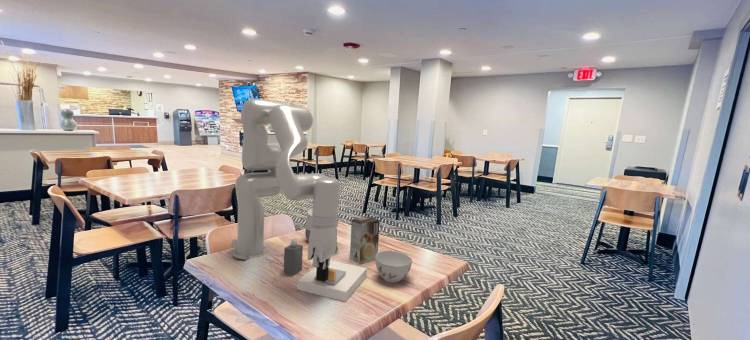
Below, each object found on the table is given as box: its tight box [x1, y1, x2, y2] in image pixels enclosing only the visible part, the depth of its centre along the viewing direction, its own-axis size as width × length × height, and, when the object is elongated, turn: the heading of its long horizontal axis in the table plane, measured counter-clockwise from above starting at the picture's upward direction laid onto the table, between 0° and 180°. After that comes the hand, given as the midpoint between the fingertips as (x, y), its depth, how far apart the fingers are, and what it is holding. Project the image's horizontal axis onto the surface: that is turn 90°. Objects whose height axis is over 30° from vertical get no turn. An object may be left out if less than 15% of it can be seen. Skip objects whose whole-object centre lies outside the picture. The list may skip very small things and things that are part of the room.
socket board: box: [297, 260, 368, 302], centre depth 106 cm, size 16×18×3 cm
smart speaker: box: [304, 207, 312, 242], centre depth 143 cm, size 10×9×14 cm
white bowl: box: [374, 250, 413, 284], centre depth 112 cm, size 15×12×8 cm
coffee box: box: [349, 216, 381, 266], centre depth 125 cm, size 9×6×16 cm
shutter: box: [314, 268, 346, 285], centre depth 103 cm, size 7×8×4 cm
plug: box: [283, 238, 304, 277], centre depth 111 cm, size 4×5×11 cm
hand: (322, 279), depth 97 cm, fingers closed
